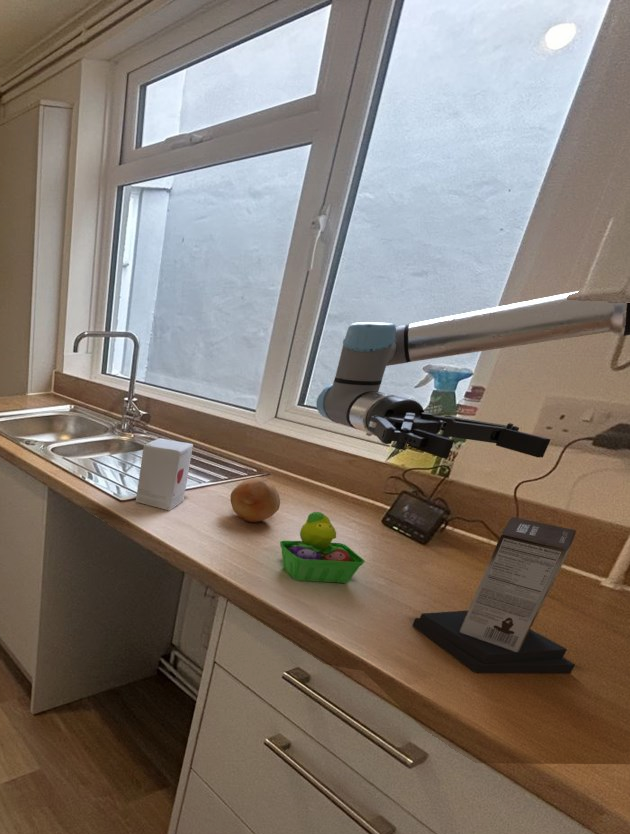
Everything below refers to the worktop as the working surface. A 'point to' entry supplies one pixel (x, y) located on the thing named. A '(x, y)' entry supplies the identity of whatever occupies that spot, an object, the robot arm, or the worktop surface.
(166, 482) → the rectangular carton
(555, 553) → the coffee box
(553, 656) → the black game console
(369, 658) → the worktop surface
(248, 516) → the onion
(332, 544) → the fruit basket
